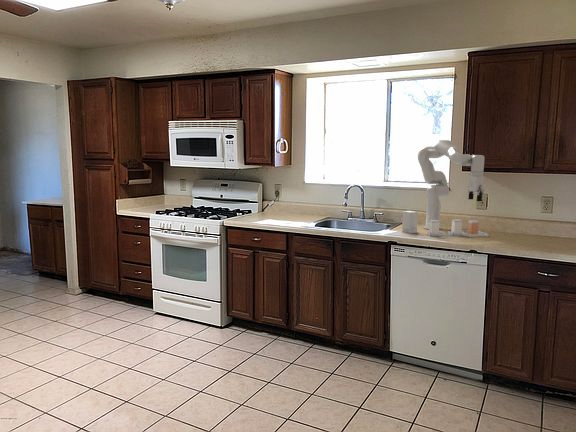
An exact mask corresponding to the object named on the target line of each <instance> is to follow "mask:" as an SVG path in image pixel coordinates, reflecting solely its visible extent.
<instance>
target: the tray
mask: <svg viewBox="0 0 576 432" xmlns="http://www.w3.org/2000/svg"><path fill="white" fill-rule="evenodd" d="M462 235H464V237H468V238H470V237H471V238H476V237H479V238H481V237H489V233H486V232H483V231H480V230H478V234H468V229H467V230H462Z"/></svg>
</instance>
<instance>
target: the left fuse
mask: <svg viewBox="0 0 576 432" xmlns="http://www.w3.org/2000/svg"><path fill="white" fill-rule="evenodd" d="M428 231H429V232H431V236H439V231H440V230H439V221H438V220H429V229H428Z"/></svg>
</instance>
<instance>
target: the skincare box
mask: <svg viewBox="0 0 576 432" xmlns="http://www.w3.org/2000/svg"><path fill="white" fill-rule="evenodd" d="M401 223H402V232H404V233H409V234H414V233H415V234H416V233H418V211H414V210H405V211H404V210H403V211H402V222H401Z"/></svg>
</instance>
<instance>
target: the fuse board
mask: <svg viewBox="0 0 576 432" xmlns="http://www.w3.org/2000/svg"><path fill="white" fill-rule="evenodd" d="M453 233H454V232H453V231H449V230H448V231H447V233H443V231H440V230H439V236H431V232H429V230H428V231H427V233H425V234H424V235H425V236H428V237H430V238H447V237H449V238H452V237H453V238H454V237H455V238H456V237H459V238H460V237H465V235H462V232H461V235H460V236H454V235H453Z"/></svg>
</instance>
